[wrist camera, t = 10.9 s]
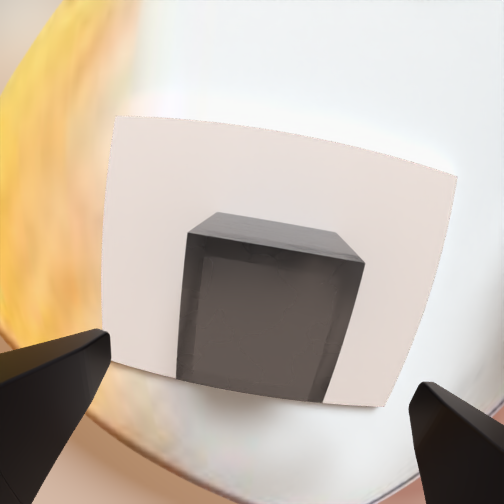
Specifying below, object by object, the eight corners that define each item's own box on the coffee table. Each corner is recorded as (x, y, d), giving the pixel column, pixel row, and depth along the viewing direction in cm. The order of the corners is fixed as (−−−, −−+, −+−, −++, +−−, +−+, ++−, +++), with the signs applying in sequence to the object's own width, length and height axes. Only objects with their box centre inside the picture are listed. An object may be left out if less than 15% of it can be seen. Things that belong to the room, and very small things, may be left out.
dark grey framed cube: (336, 232, 17) (365, 262, 11) (311, 337, 18) (322, 403, 13) (217, 211, 17) (187, 232, 11) (203, 319, 19) (175, 378, 13)
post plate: (449, 176, 16) (496, 179, 12) (380, 398, 20) (399, 445, 16) (123, 118, 17) (78, 104, 12) (110, 351, 21) (77, 390, 16)
